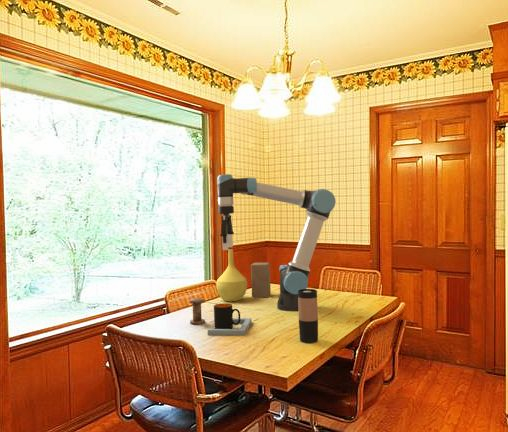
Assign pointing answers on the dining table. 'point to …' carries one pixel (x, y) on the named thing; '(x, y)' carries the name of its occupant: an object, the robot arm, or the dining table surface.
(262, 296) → the wooden block
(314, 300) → the travel mug
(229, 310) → the mug
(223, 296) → the vase
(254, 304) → the dining table surface
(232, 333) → the notch board
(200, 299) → the bobbin post
